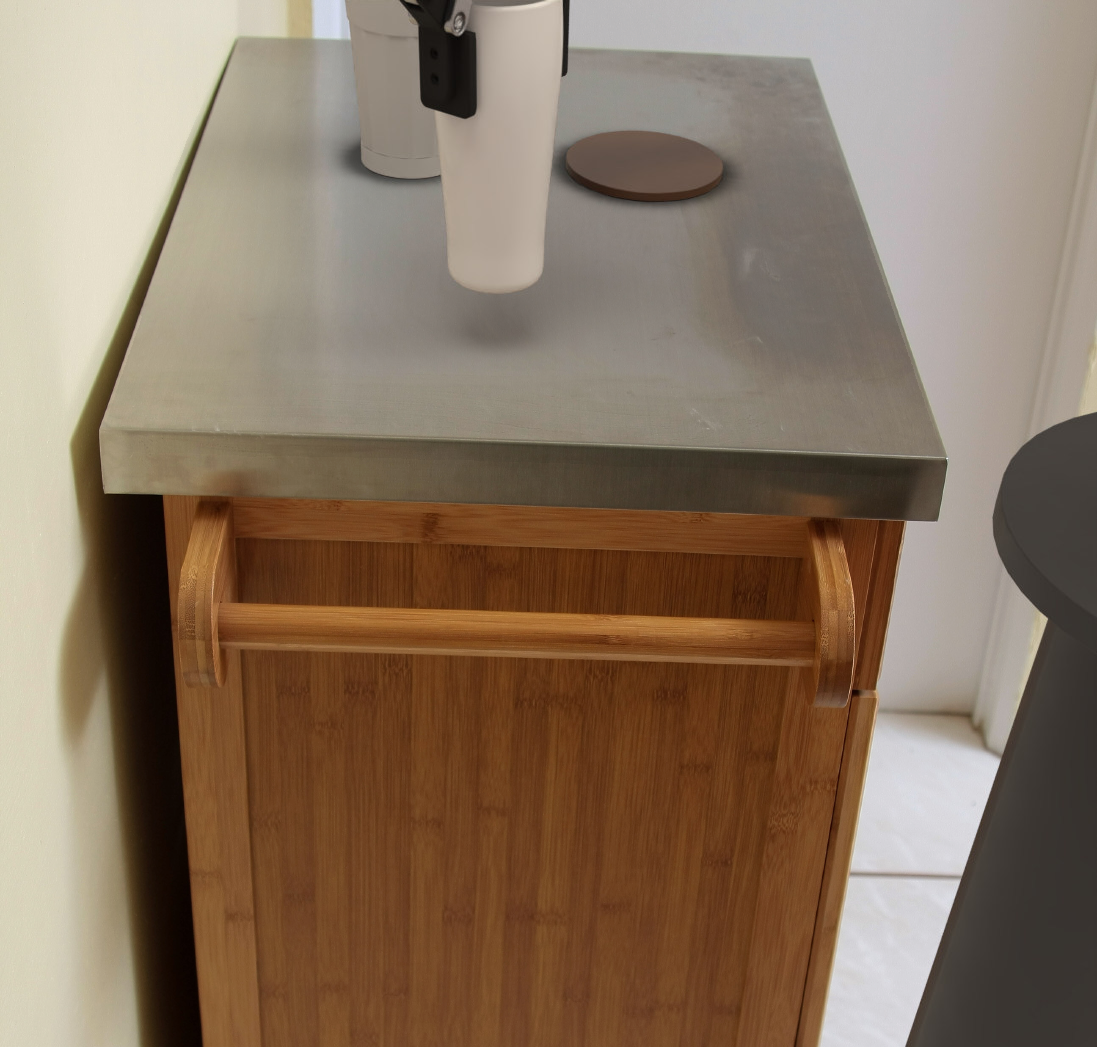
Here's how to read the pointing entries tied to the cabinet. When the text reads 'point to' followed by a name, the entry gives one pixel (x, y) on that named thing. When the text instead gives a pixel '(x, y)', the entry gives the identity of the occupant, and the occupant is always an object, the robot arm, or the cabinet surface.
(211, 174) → the cabinet surface
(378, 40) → the cup
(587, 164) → the coaster
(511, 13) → the white tumbler
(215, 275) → the cabinet surface
